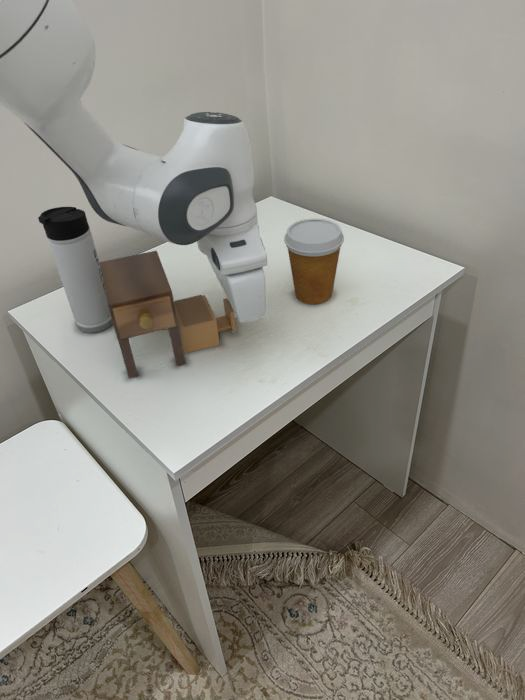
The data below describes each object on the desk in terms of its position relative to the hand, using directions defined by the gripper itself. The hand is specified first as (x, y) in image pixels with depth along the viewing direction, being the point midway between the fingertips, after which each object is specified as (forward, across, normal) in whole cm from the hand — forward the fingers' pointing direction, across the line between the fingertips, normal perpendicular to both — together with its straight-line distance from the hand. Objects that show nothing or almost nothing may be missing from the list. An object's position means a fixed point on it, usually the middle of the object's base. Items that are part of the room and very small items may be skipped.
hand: (236, 312), depth 86 cm
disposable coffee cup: (+3, -4, +15) cm, 15 cm away
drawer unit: (+3, 0, -14) cm, 14 cm away
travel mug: (+3, -10, -22) cm, 24 cm away
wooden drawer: (+3, 0, -5) cm, 6 cm away
